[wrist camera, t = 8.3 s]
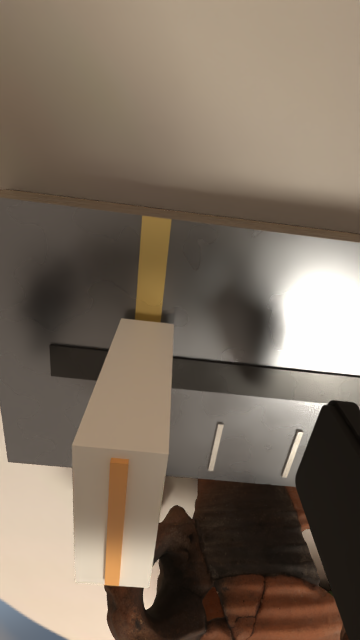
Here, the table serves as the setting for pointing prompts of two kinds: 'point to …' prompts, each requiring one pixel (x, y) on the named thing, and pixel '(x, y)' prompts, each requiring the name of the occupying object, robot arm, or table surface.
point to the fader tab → (123, 458)
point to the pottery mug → (231, 573)
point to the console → (177, 328)
